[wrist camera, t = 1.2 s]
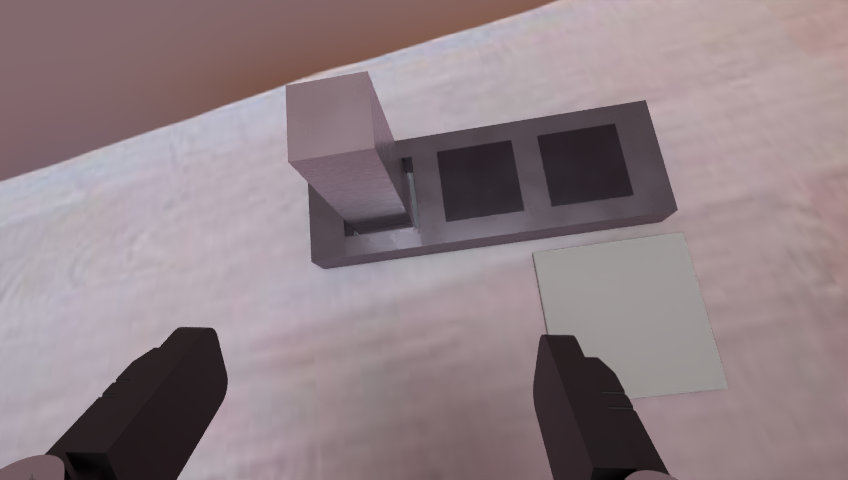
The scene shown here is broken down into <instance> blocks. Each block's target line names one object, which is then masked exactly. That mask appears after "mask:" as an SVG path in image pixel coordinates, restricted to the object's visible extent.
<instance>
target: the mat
mask: <svg viewBox="0 0 848 480" xmlns="http://www.w3.org/2000/svg"><path fill="white" fill-rule="evenodd" d="M532 255H533V260H534V265H535V271H536V276H537V281H538V286H539V292H540V297H541V302H542V308H543V313H544V318H545V323H546V329H547V334H548V335H574V336H575V337H576V339H577V341H578V343H579V345H580V347H581V349H582V352H583V354H584V356H585V357H598V358H599V359H600V360H601V361H603V362H604V363H605V364H606V365H607V366H608V367H609V368H610V369H611V370H612V371H614V372H615V374H616V375H617V377H618V379H619V381H620V383H621V385H622V387H623V389H624V390H625V395H627V396H628V398H629V399H634V398H643V397H652V396H662V395H671V394H680V393H690V392H699V391H708V390H718V389H727V388H729V387H728V384H727V381H726V377H725V374H724V370H723V367H722V363H721V360H720V357H719V353H718V350H717V346H716V343H715V339H714V336H713V333H712V329H711V326H710V322H709V319H708V315H707V312H706V308H705V305H704V302H703V298H702V295H701V291H700V288H699V284H698V281H697V278H696V274H695V271H694V267H693V264H692V260H691V257H690V254H689V250H688V247H687V243H686V240H685V236H684V233H683V232H679V233H672V234H665V235H657V236H650V237H643V238H636V239H628V240H621V241H614V242H607V243H599V244H592V245H585V246H577V247H570V248H563V249H556V250H548V251H541V252H534V253H533V254H532Z"/></svg>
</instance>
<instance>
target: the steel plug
mask: <svg viewBox="0 0 848 480" xmlns="http://www.w3.org/2000/svg"><path fill="white" fill-rule="evenodd" d="M286 110H287V142H288V162H289V163H290V164H291V165H292V166H293V167H294V168H295V169H296V170H297V171H298V172H299V173H300V175H301V176H302V177H303V178H304V179H305V180H306V181H307V182H308V183H309V184H310V185H311V186H312V187H313V188H314V189H315V190H316V191H317V192H318V193H319V194H320V195H321V196H322V197H323V198H324V199H325V200H326V201H327V202H328V203H329V204H330V205H331V206H332V207H333V208H334V209H335V210H336V211H337V212H338V213H339V214H340V215H341V216H342V217H343V218H344V219H345V220H346V221H347V223H348V224H349V225H350V226H351V227H352V228H353V229H354V230H355V231H356V232H357V233H358V234H359V235H363V234H370V233H377V232H384V231H391V230H398V229H405V228H411V227H415V224H414V216H413V207H412V198H411V189H410V181H409V177H408V175H407V172H406V170H405V167H404V164H403V162H402V159H401V157H400V154H399V151H398V149H397V146H396V144H395V141H394V138H393V136H392V133H391V131H390V128H389V125H388V123H387V120H386V118H385V115H384V112H383V110H382V107H381V105H380V102H379V99H378V97H377V94H376V92H375V89H374V87H373V84H372V81H371V79H370V76H369V74H368V71H366V72H360V73H354V74H349V75H343V76H338V77H332V78H326V79H321V80H315V81H310V82H304V83H298V84H293V85H287V86H286Z"/></svg>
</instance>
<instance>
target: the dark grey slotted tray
mask: <svg viewBox="0 0 848 480" xmlns="http://www.w3.org/2000/svg"><path fill="white" fill-rule="evenodd" d="M395 144H396V146H397V149H398V151H399V154H400V157H401V159H402V162H403V164H404V167H405V170H406V172H413V173H414V182H415V190H416V199H417V207H418V216H419V224H420V226H418V227H411V228H405V229H398V230H391V231H384V232H377V233H370V234H363V235H356V236H354V231H353V228H352V227H351V226H350V225H349V224H348V223H347V221H346V220H345V219H344V218H343V217H342V216H341V215H340V214H339V213H338V212H337V211H336V210H335V209H334V208H333V207H332V206H331V205H330V204H329V203H328V202H327V201H326V200H325V199H324V198H323V197H322V196H321V195H320V194H319V193H318V192H317V191H316V190H315V189H314V188H313V187H312V186H311V185H310V184H309V183H308V192H309V214H310V237H311V259H312V262H313V263H314V264H316V265H318V266H320V267H321V268H323V269H328V268H335V267H342V266H349V265H356V264H364V263H371V262H378V261H385V260H392V259H399V258H406V257H414V256H421V255H428V254H435V253H442V252H449V251H456V250H464V249H471V248H478V247H485V246H492V245H499V244H506V243H514V242H521V241H528V240H535V239H542V238H549V237H556V236H564V235H571V234H578V233H585V232H592V231H599V230H607V229H614V228H621V227H628V226H635V225H642V224H649V223H657V222H662V221H663V220H665V219H666V218H667V217H669V216H670V215H672V214H673V213H674V212H676V211H677V210H678V209H677V206H676V202H675V199H674V195H673V192H672V189H671V185H670V182H669V178H668V175H667V172H666V168H665V165H664V161H663V158H662V154H661V151H660V148H659V144H658V141H657V137H656V134H655V130H654V127H653V124H652V120H651V117H650V113H649V110H648V106H647V103H646V100H644V101H638V102H632V103H626V104H620V105H614V106H607V107H601V108H595V109H589V110H583V111H577V112H571V113H565V114H558V115H552V116H546V117H540V118H534V119H528V120H522V121H515V122H509V123H503V124H497V125H491V126H485V127H479V128H473V129H466V130H460V131H454V132H448V133H442V134H436V135H430V136H423V137H417V138H411V139H405V140H399V141H395Z"/></svg>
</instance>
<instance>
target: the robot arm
mask: <svg viewBox="0 0 848 480" xmlns="http://www.w3.org/2000/svg"><path fill="white" fill-rule="evenodd" d="M227 384H228V378H227V372H226V368H225V364H224V360H223V356H222V352H221V348H220V344H219V340H218V336H217V333H216V331H215V330H214V329H213V328H204V327H180V328H177V329H176V330H175V331H174V332H173V333H172V334H171V335H170V336H169V337H168V338H167V340H166V341H165V342H164V343H163V344H162V345H161V346H160V347H159V348H153V349H152V350H150V351H149V352H147V353H146V354H144V355H142V356H141V357H139V358H138V359H136V360H135V361H133V362H132V363H131V364H130V365H129V366H128V367H127V368H126V369H125V370H124V371H123V372H122V374H121V375H120V376H119V377H118V378H117V379H116V382H115V383H112V384H111V385H110V386H109V387H108V388H107V389H106V390H105V391H104V393H103V395H102V397H99V398H98V399H97V400H96V401H95V402H94V403H93V404H92V405H91V406H90V407H89V408H88V409H87V410H86V412H85V413H84V414H83V415H82V416H81V417H80V418H79V419H78V420H77V421H76V422H75V423H74V424H73V425H72V426H71V427H70V428H69V429H68V431H67V432H66V433H65V434H64V435H63V436H62V437H61V438H60V439H59V440H58V441H57V442H56V443H55V444H54V445H53V446H52V447H51V448H50V450H49V451H48V452H47V453H46V454H45V455H38V456H33V457H29V458H25V459H22V460H19V461H17V462H14V463H12V464H10V465H8V466H6V467H4V468H2V469H0V480H177V478H178V476H179V475H180V473H181V471H182V470H183V468H184V466H185V465H186V463H187V461H188V459H189V458H190V456H191V454H192V453H193V451H194V449H195V448H196V446H197V444H198V443H199V441H200V439H201V438H202V436H203V434H204V432H205V431H206V429H207V427H208V426H209V424H210V422H211V421H212V419H213V417H214V416H215V414H216V412H217V411H218V409H219V407H220V406H221V404H222V402H223V400H224V398H225V395H226V391H227ZM533 397H534V406H535V411H536V414H537V418H538V422H539V426H540V430H541V433H542V437H543V441H544V445H545V448H546V452H547V456H548V460H549V464H550V467H551V471H552V475H553V479H554V480H678V479H676V478H674V477H672V476H670V474H669V473H668V471H667V469H666V467H665V465H664V464H663V462H662V460H661V458H660V456H659V454H658V452H657V450H656V449H655V447H654V445H653V443H652V441H651V439H650V437H649V435H648V434H647V432H646V430H645V428H644V426H643V424H642V422H641V420H640V419H639V417H638V415H637V413H636V411H634V410H633V405H632V404H631V402H630V400H629V398H628V396H627V395H625V390H624V389H623V387H622V385H621V383H620V381H619V379H618V377H617V375H616V374H615V372H614V371H612V370H611V369H610V368H609V367H608V366H607V365H606V364H605V363H604V362H603V361H601V360H600V359H599V358H598V357H585V356H584V354H583V352H582V349H581V347H580V345H579V343H578V341H577V339H576V337H575V336H574V335H541V337H540V341H539V348H538V355H537V362H536V369H535V376H534V384H533Z"/></svg>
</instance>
